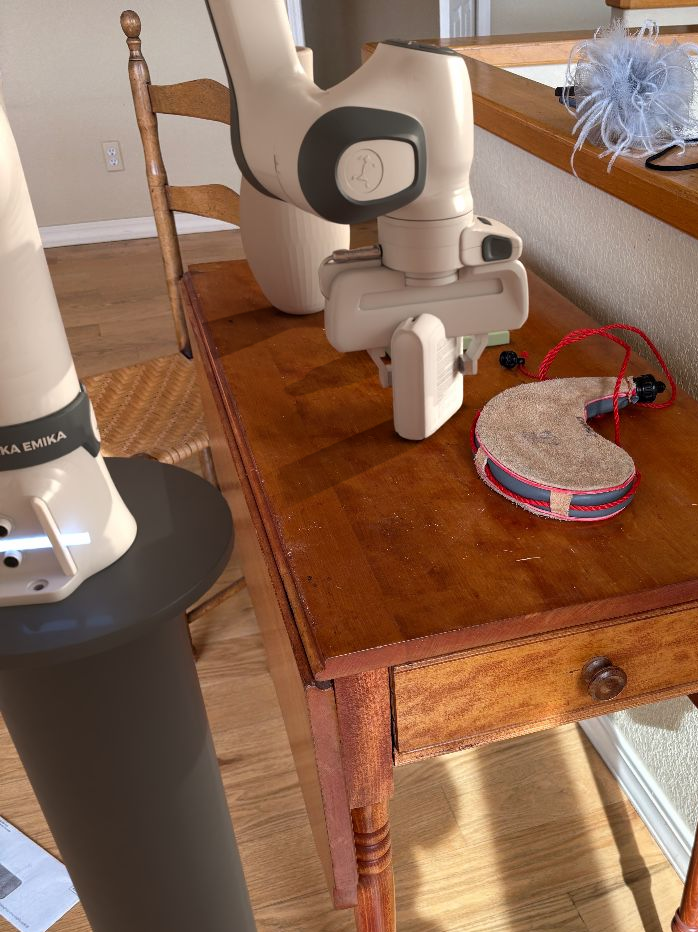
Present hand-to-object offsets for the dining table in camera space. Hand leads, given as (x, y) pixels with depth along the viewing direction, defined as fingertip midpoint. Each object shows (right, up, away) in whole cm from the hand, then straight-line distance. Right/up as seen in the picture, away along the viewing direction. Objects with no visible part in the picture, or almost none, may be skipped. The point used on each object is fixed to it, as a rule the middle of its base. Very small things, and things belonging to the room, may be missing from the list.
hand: (428, 379), depth 95 cm
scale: (0, +11, +22) cm, 25 cm away
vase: (-18, +16, +29) cm, 38 cm away
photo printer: (0, -4, +3) cm, 5 cm away
